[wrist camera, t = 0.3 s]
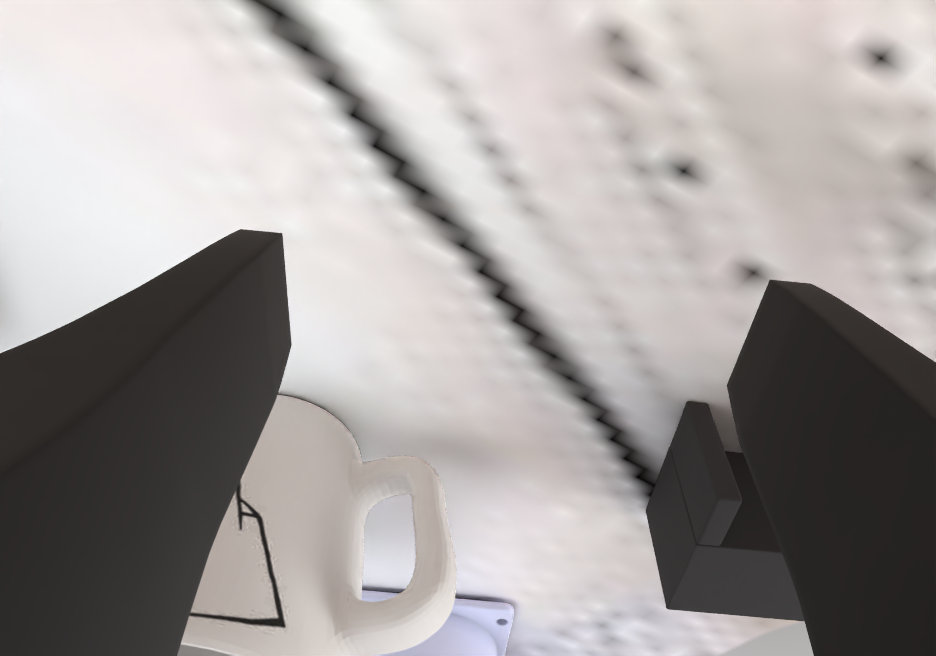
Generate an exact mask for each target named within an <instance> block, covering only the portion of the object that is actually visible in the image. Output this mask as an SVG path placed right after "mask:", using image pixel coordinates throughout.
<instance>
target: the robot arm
mask: <svg viewBox="0 0 936 656" xmlns="http://www.w3.org/2000/svg"><path fill="white" fill-rule="evenodd" d="M290 348H291V334H290V322H289V310H288V298H287V285H286V273H285V261H284V249H283V236H282V233H274V232H264V231H253V230H243V229H240V230H238V231H236V232H234V233H232V234H230V235H228V236H226V237H224V238H222V239H220V240H219V241H217V242H215V243H213V244H212V245H210V246H208V247H206V248H205V249H203V250H201V251H200V252H198V253H196V254H195V255H193V256H191V257H190V258H188V259H186V260H184V261H183V262H181V263H179V264H178V265H176V266H174V267H172V268H171V269H169V270H167V271H166V272H164V273H162V274H160V275H159V276H157V277H155V278H154V279H152V280H150V281H148V282H147V283H145V284H143V285H141V286H140V287H138V288H136V289H134V290H132V291H130V292H128V293H127V294H125V295H123V296H121V297H119V298H117V299H115V300H113V301H111V302H109V303H107V304H106V305H104V306H102V307H100V308H98V309H96V310H94V311H92V312H90V313H88V314H86V315H84V316H83V317H81V318H79V319H77V320H75V321H73V322H71V323H69V324H67V325H65V326H62V327H60V328H58V329H56V330H54V331H52V332H49V333H47V334H45V335H43V336H41V337H38V338H36V339H34V340H32V341H29V342H27V343H24V344H22V345H20V346H17V347H15V348H12V349H10V350H8V351H5V352H3V353H0V656H177V655H178V651H179V648H180V645H181V641H182V638H183V635H184V631H185V628H186V625H187V621H188V618H189V615H190V612H191V609H192V606H193V603H194V600H195V596H196V593H197V590H198V587H199V584H200V581H201V578H202V575H203V572H204V569H205V566H206V562H207V559H208V556H209V553H210V551H211V548H212V545H213V543H214V540H215V538H216V535H217V533H218V530H219V528H220V525H221V523H222V520H223V518H224V516H225V514H226V512H227V509H228V507H229V505H230V503H231V500H232V498H233V496H234V494H235V491H236V489H237V487H238V485H239V483H240V480H241V478H242V476H243V474H244V471H245V469H246V467H247V465H248V462H249V460H250V458H251V456H252V454H253V451H254V449H255V447H256V445H257V442H258V440H259V438H260V436H261V433H262V431H263V429H264V426H265V424H266V422H267V420H268V417H269V415H270V413H271V410H272V408H273V406H274V403H275V401H276V398H277V395H278V391H279V388H280V384H281V381H282V378H283V374H284V371H285V367H286V363H287V359H288V356H289V352H290ZM727 388H728V393H729V398H730V403H731V408H732V414H733V418H734V422H735V427H736V431H737V435H738V439H739V443H740V446H741V448H742V451H743V454H744V457H745V459H746V462H747V465H748V467H749V470H750V473H751V475H752V478H753V481H754V483H755V486H756V488H757V491H758V494H759V496H760V499H761V501H762V504H763V506H764V509H765V511H766V514H767V517H768V519H769V522H770V524H771V527H772V529H773V532H774V534H775V537H776V540H777V542H778V545H779V547H780V550H781V552H782V555H783V557H784V560H785V563H786V565H787V568H788V570H789V573H790V576H791V579H792V582H793V585H794V587H795V590H796V593H797V596H798V599H799V602H800V606H801V609H802V613H803V617H804V620H805V624H806V628H807V632H808V635H809V639H810V642H811V646H812V650H813V654H814V656H936V362H934V361H933V360H931V359H929V358H928V357H926V356H925V355H923V354H922V353H920V352H919V351H917V350H916V349H914V348H913V347H911V346H910V345H908V344H907V343H905V342H904V341H902V340H901V339H899V338H898V337H896V336H895V335H893V334H892V333H890V332H889V331H887V330H886V329H884V328H883V327H881V326H880V325H878V324H877V323H875V322H874V321H872V320H871V319H869V318H868V317H866V316H865V315H863V314H862V313H860V312H859V311H857V310H856V309H854V308H852V307H851V306H849V305H848V304H846V303H845V302H843V301H841V300H840V299H838V298H836V297H835V296H833V295H831V294H830V293H828V292H826V291H824V290H822V289H820V288H818V287H816V286H814V285H812V284H808V283H798V282H787V281H777V280H770V281H769V283H768V286H767V288H766V291H765V293H764V295H763V298H762V300H761V303H760V305H759V308H758V310H757V313H756V315H755V318H754V320H753V322H752V325H751V327H750V330H749V332H748V335H747V337H746V340H745V342H744V345H743V347H742V349H741V352H740V354H739V357H738V359H737V362H736V364H735V367H734V369H733V372H732V374H731V376H730V379H729V381H728V384H727ZM398 594H399V593H388V592H377V591H365V590H362V594H361V600H363V601H370V602H376V601H384V600H387V599H390V598H393V597H394V596H396V595H398ZM513 617H514V608H513V607H512V605H510V604H508V603H502V602H491V601H479V600H468V599H456V598H455V601H454V605H453V608H452V611H451V613H450V615H449V617H448V619H447V620H446V621H445V623H444V624H443V626H442V627H441V628H440V629H439V630H438V631H437V632H436V633H434V634H433V635H432V636H430V637H429V638H428V639H426V640H425V641H423V642H421V643H419V644H418V645H416V646H414V647H411V648H408V649H406V650H402V651H398V652H394V653H388V654H381V655H373V656H505V652H506V648H507V643H508V639H509V635H510V630H511V626H512V622H513Z"/></svg>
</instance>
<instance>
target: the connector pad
mask: <svg viewBox="0 0 936 656" xmlns="http://www.w3.org/2000/svg"><path fill="white" fill-rule="evenodd" d="M646 514H647V519H648V523H649V528H650V533H651V537H652V542H653V547H654V551H655V556H656V561H657V566H658V570H659V575H660V580H661V584H662V589H663V594H664V598H665V603H666V608H667V609H671V610H683V611H694V612H705V613H717V614H728V615H739V616H751V617H762V618H773V619H785V620H796V621H805V620H804V617H803V613H802V609H801V606H800V602H799V599H798V596H797V593H796V590H795V587H794V585H793V582H792V579H791V576H790V573H789V570H788V568H787V565H786V563H785V560H784V557H783V555H782V552H781V550H780V547H779V545H778V542H777V540H776V537H775V534H774V532H773V529H772V527H771V524H770V522H769V519H768V517H767V514H766V511H765V509H764V506H763V504H762V501H761V499H760V496H759V494H758V491H757V488H756V486H755V483H754V481H753V478H752V475H751V473H750V470H749V467H748V465H747V462H746V459H745V457H744V454H741V453H730V452H725V451H724V448H723V445H722V442H721V439H720V437H719V434H718V431H717V428H716V426H715V423H714V420H713V417H712V415H711V412H710V409H709V406H708V405H707V404H705V403H694V402H687V403H686V406H685V408H684V411H683V414H682V416H681V419H680V422H679V424H678V427H677V430H676V432H675V435H674V438H673V440H672V443H671V446H670V447H669V450H668V452H667V455H666V458H665V460H664V463H663V466H662V468H661V471H660V474H659V476H658V479H657V482H656V484H655V487H654V489H653V492H652V495H651V497H650V500H649V503H648V505H647V508H646Z"/></svg>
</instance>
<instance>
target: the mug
mask: <svg viewBox="0 0 936 656" xmlns="http://www.w3.org/2000/svg"><path fill="white" fill-rule="evenodd" d="M400 494H409V495H412V508H413V521H414V533H415V546H416V560H415V569H414V573H413V577H412V579H411V581H410V583H409V585H408V586H407V588H406V589H405V590H404V591H403V592H401V593H399V594H398V595H396V596H394V597H393V598H390V599H387V600H384V601H376V602H370V601H363V600H361V594H362V582H363V553H364V528H365V519H366V517H367V515H368V513H369V511H370V510H371V509H372V507H374V506H375V505H376V504H377V503H379V502H381V501H383V500H384V499H387V498H389V497H392V496H396V495H400ZM456 585H457V566H456V558H455V553H454V548H453V544H452V539H451V534H450V530H449V525H448V520H447V512H446V504H445V496H444V491H443V487H442V484H441V481H440V479H439V476H438V474H437V473H436V471H435V469H434V468H433V467H432V466H431V465H430V464H429V463H427V462H426V461H424V460H422V459H420V458H417V457H413V456H393V457H388V458H383V459H378V460H374V461H370V462H365V463H362V459H361V454H360V450H359V448H358V445H357V443H356V441H355V439H354V438H353V436H352V434H351V433H350V431H349V430H348V429H347V428H346V427H345V426H344V425H343V424H342V423H341V422H340V421H339V420H338V419H337V418H335V417H334V416H333V415H331V414H330V413H329V412H327V411H326V410H324V409H322V408H320V407H318V406H316V405H314V404H312V403H309V402H307V401H304V400H301V399H297V398H293V397H288V396H283V395H277V398H276V401H275V403H274V406H273V408H272V410H271V413H270V415H269V417H268V420H267V422H266V424H265V426H264V429H263V431H262V433H261V436H260V438H259V440H258V442H257V445H256V447H255V449H254V451H253V454H252V456H251V458H250V460H249V462H248V465H247V467H246V469H245V471H244V474H243V476H242V478H241V480H240V483H239V485H238V487H237V489H236V491H235V494H234V496H233V498H232V500H231V503H230V505H229V507H228V509H227V512H226V514H225V516H224V518H223V520H222V523H221V525H220V528H219V530H218V533H217V535H216V538H215V540H214V543H213V545H212V548H211V551H210V553H209V556H208V559H207V562H206V566H205V569H204V572H203V575H202V578H201V581H200V584H199V587H198V590H197V593H196V596H195V600H194V603H193V606H192V609H191V612H190V615H189V618H188V621H187V625H186V628H185V631H184V635H183V638H182V641H181V645H180V648H179V651H178V655H177V656H373V655H381V654H388V653H394V652H398V651H402V650H406V649H408V648H411V647H414V646H416V645H418V644H419V643H421V642H423V641H425V640H426V639H428V638H429V637H430V636H432V635H433V634H434V633H436V632H437V631H438V630H439V629H440V628H441V627H442V626H443V624H444V623H445V621H446V620H447V619H448V617H449V615H450V613H451V611H452V608H453V605H454V601H455V594H456Z"/></svg>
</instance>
